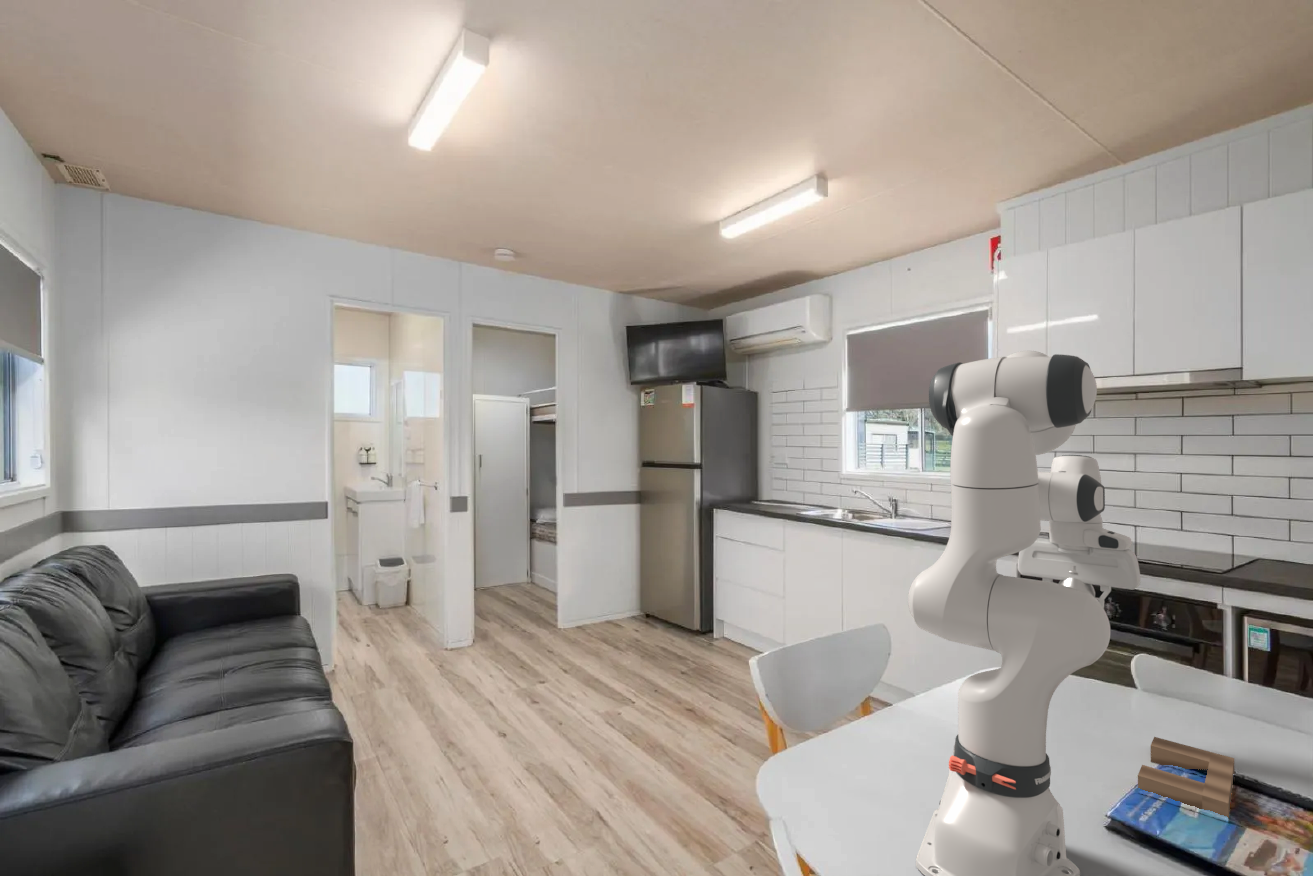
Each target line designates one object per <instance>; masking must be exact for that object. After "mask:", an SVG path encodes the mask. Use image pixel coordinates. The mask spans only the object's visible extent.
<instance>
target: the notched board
mask: <svg viewBox="0 0 1313 876" xmlns="http://www.w3.org/2000/svg"><path fill="white" fill-rule="evenodd" d="M1150 762H1151V763H1153V764H1157V765H1161V766H1163V765H1173V766H1178V767H1182V768H1185V769H1198V770H1199V769H1200V770H1201V769H1202V770H1203V769H1204V770H1205V769H1206V770H1207V769H1208V770H1207V775H1206V778H1205V779H1204V780H1205V781H1204V782H1203V781H1199V780H1195V779H1193V778H1189V777H1185V776H1182V775H1178V774H1175V773H1171V772H1169V771H1165V770H1163V769H1162V770H1161V769H1159V768H1155V767H1152V766H1147V765H1145V764H1141V767H1140V769H1139V770H1138V773H1137V789H1138V788H1140V789H1142V790H1145V791H1148V792H1153V793H1156V794H1158V795H1161V796H1163V797H1168V798H1171V799H1173V800H1175V801H1180V802H1182V803H1184V804H1187V805H1190V806H1195V807H1197V808H1199V809H1204V810H1210V811H1213V812H1215V813H1218V814H1220V815H1224V816H1227V817H1228V818H1229V819H1230V817H1229V810H1230V811H1231V809H1230V802H1231V803H1232V801H1231V793H1232V784H1233V774H1235V775H1236V772H1235V768H1236V767H1235V758H1234V757H1230V756H1227V755H1224V754H1220V753H1217V752H1213V751H1209V750H1206V749H1202V748H1197V747H1194V746H1190V745H1186V744H1183V743H1179V742H1175V741H1172V740H1168V739H1164V738H1160V737H1157V736H1154V737H1153V739H1152V741H1151V743H1150ZM1232 794H1233V793H1232Z"/></svg>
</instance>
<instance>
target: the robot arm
mask: <svg viewBox="0 0 1313 876" xmlns="http://www.w3.org/2000/svg"><path fill="white" fill-rule="evenodd" d="M930 380H931V381H930V383H929V388H928V402H929V404H928V405H929V408H930V412H931V413H932V416H933V418H934V419H935V420H936V422H938V423H937V424H939V425H940V427H942V428H944V429H947V431H948V433H949V434H950V435H951V436H952V440H951V441H952V442H951V449H950V470H949V472H950V474H949V475H950V493H951V497H950V499H951V501H950V502H951V521H950V531H949V532H950V533H949V538H948V541H947V543H946V545H945V548H944V550H943V552H942V554H941V555H940V557H938V559H937V560H936V561H935V562H934V563H933V564H932V565H930V566H929V567H927V568H926V569H923V570H922V571H921V572H920V573H919V574H917V576H916V577H915V578H914V579H913V581H912V582H911V585H910V587H909V589H908V594H907V605H908V610H909V613H910V616H911V618H912V620H913V621H914V623H915V624H916V626H917V627H918V628H919V629H920V630H922V631H925V632H928V633H930V634H932V635H934V636H937V637H939V638H941V639H943V640H946V641H948V642H953V643H957V644H961V645H962V644H963V645H967V646H972V647H976V648H980V649H984V650H989V651H993V652H996V653H999V654H1001V666H1000V667H999V668H996V669H990V670H985V671H982V672H978V673H975V674H972V675H970V676H969V677H967V678H965V680H964V681H963V682H962V683H961V685H960V687H959V688H958V692H957V699H958V700H957V705H958V707H957V708H958V709H957V710H958V711H957V713H958V714H957V719H958V720H957V723H958V724H957V726H958V729H957V730H958V731H957V733H958V734H957V735H956V736H955V738H954V739H955V742H954V745H953V751H952V754H951V756H950V757H949V760H948V769H949V773H948V776H947V779H946V783H945V785H944V786H945V787H944V789H943V792H942V793H943V794H942V796H941V799H940V800H939V806H938V808H937V809H934V811H933V813H932V816H931V819H930V821H929V823H928V826H927V828H926V831H925V834H924V837H923V839H922V842H921V844H920V847H919V850H918V852H917V856H916V858H915V867H916V869H917V870H918V871H919V872H921V874H923V875H924V876H1081V871H1080V869H1079V867H1078V866H1077V865H1076V864H1075V863H1074V862H1072V860H1070V859H1069V858H1068V857H1067V850H1066V835H1065V833H1066V832H1065V819H1064V809H1063V807H1062V806H1061V804H1060V803H1059V801H1058V800H1057V799H1056V798H1055V797H1054V795H1053V793H1052V791H1051V789H1050V786H1051V774H1052V766H1051V764H1050V757H1049V754H1048V753H1047V727H1048V715H1049V708H1050V703H1051V700H1052V697H1053V695H1054V693H1055V692H1056V690H1057V688H1059V686H1060V685H1061V683H1063V682H1064V681H1065V679H1067V678H1068V677H1069V676H1070V675H1072V674H1073V673H1075V672H1076V671H1078V670H1080V669H1081V670H1082V668H1085V667H1088V666H1091V665H1092V664H1094V663H1095V662H1097V661H1098V660H1099V659H1100V658H1102V656H1103V655H1104V653H1105V652H1106V650H1107V648H1108V646H1109V643H1110V639H1111V623H1110V620H1109V617H1108V615H1107V612H1106V611H1105V599H1106V598H1107V597H1108V596H1109V594H1110V593H1111V592H1112V588H1118V589H1125V590H1130V591H1131V590H1132V591H1133V590H1135V589H1137V588H1138V587H1139V586H1140V585H1141V571H1140V566H1139V560H1138V558H1137V557H1138V556H1136V554H1135V553H1134V551H1133V550H1131V549H1130V548H1131V546H1132V542H1133V541H1132V539H1131V537H1130V536H1127V535H1125V534H1121V533H1118V532H1115V531H1112V530H1109V529H1106V528H1104V527H1103V518H1102V516H1101V513H1102V512H1104V511H1105V508H1106V507H1105V506H1106V505H1105V503H1106V500H1105V499H1106V495H1105V494H1106V493H1105V492H1106V491H1105V486H1104V485H1103V484H1102V478H1101V472H1100V467H1099V463H1098V460H1097V459H1096V458H1093V457H1092V456H1087V455H1081V454H1063V455H1058V456H1054V458H1053V459H1052V462H1051V467H1050V471H1039V469H1038V463H1037V461H1038V460H1037V456H1039V455H1044V454H1047V453H1051V452H1052V451H1054V450H1055V451H1056V449H1058V448H1060V447H1061V446H1063V445H1064V444H1065V443H1066V442H1067V441H1068V440H1069V438H1071V436H1072V435H1073V433H1074V431H1075V429H1076V425H1078V424H1081V423H1082V422H1083V421H1084V420H1086V419H1088V417H1089V416H1090V415H1091V413H1092V409H1093V407H1094V405H1095V402H1096V399H1097V395H1098V392H1097V391H1098V387H1097V380H1096V378H1095V375H1094V373H1093V371H1092V369H1091V367H1090V365H1089V363H1088V362H1086V361H1085V360H1083V359H1082V358H1080V357H1079V356H1077V355H1069V354H1059V353H1058V354H1057V353H1056V354H1053V355H1052V356H1049V355H1047V354H1046V353H1043V352H1039V351H1036V350H1021V351H1017V352H1014V353H1011V354H1008V355H1007V356H998V357H991V358H985V359H978V360H975V361H969V362H965V363H963V362H957V363H956V362H955V363H952V364H948V365H946V366H943V367H940V368H939V369H937V371H936V372H935V374H933V376H932V377H931V379H930ZM1042 521H1044V522H1049V524H1048V525H1049V528H1048V529H1049V532H1041V528H1042V527H1041V522H1042ZM1016 553H1018V557H1017V571H1018V573H1020V574H1021V576H1027V577H1034V578H1035V577H1036V578H1042V580H1038V579H1031V578H1023V577H1016V576H1011V575H1010V576H1009V575H1003V574H1000V573H998V571H997V562H998V561H997V560H999V559H1001V558H1004V557H1008V556H1011V555H1014V554H1016ZM1072 566H1076V572H1078V574H1071V573H1070V571H1072ZM1069 578H1076V579H1078V580H1080V581H1082V582H1083V583H1086V584H1092V586H1093V585H1095V586H1100V587H1099V588H1100V589H1099V590H1100V591H1101V592H1102V594H1101V595H1100V596H1099V597H1096V596H1095V597H1094V596H1093V595H1091V594H1089V593H1086V592H1083V591H1080V590H1077V589H1074V588H1071V587H1067V586H1064V585H1061V584H1058V583H1057V582H1054V581H1053V580H1057V581H1060V580H1066V579H1069ZM1090 664H1091V665H1090Z"/></svg>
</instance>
